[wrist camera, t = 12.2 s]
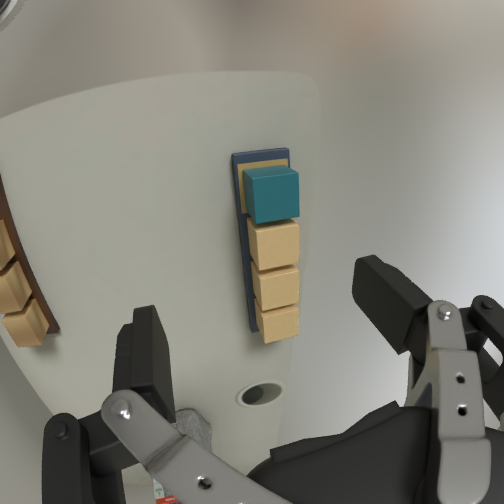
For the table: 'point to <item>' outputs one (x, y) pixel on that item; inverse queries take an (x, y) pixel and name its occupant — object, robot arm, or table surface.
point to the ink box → (163, 495)
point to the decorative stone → (194, 427)
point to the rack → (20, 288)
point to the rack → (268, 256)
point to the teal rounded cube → (271, 193)
